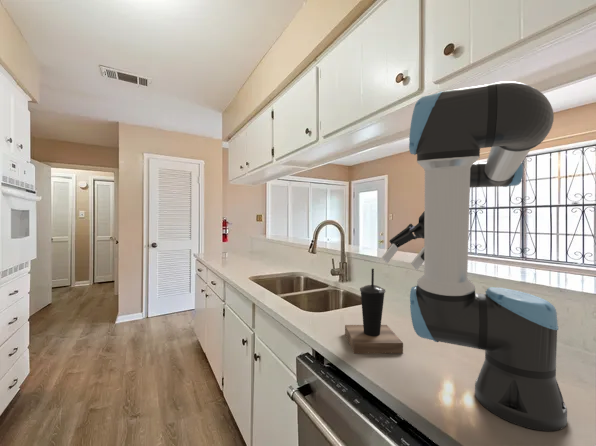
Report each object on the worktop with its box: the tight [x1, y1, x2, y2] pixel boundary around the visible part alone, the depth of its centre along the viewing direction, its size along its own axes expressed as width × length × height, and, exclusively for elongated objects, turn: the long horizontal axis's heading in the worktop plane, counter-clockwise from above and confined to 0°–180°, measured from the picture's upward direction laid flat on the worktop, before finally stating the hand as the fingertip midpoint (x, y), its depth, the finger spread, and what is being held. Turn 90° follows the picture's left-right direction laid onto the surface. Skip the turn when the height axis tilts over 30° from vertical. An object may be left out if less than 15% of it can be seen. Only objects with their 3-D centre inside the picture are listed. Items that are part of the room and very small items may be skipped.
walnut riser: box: [344, 324, 404, 355], centre depth 90 cm, size 14×14×3 cm
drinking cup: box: [359, 268, 386, 336], centre depth 89 cm, size 8×8×20 cm
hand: (398, 263), depth 93 cm, fingers open, 13 cm apart
